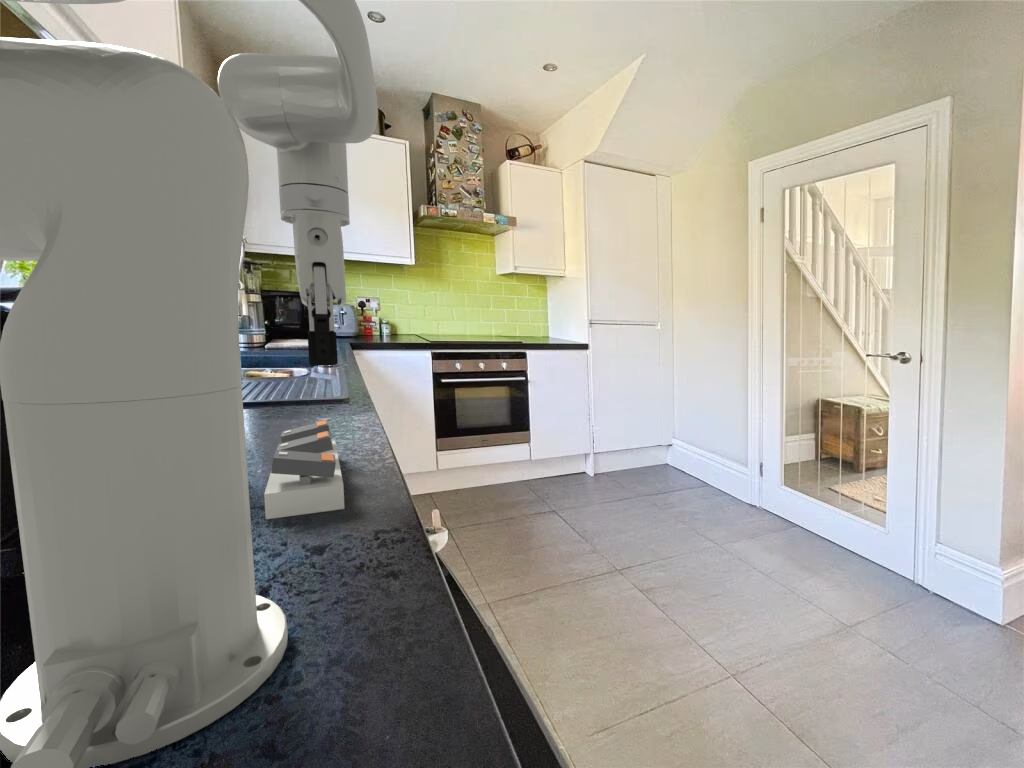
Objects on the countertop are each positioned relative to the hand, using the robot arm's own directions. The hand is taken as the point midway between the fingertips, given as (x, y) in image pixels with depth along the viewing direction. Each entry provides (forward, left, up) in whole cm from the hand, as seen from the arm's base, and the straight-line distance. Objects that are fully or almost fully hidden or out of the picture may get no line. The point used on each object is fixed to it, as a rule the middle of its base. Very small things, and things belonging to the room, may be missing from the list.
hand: (323, 364), depth 59 cm
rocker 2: (0, +3, -10) cm, 10 cm away
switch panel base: (0, +3, -14) cm, 15 cm away
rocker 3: (-8, +3, -10) cm, 13 cm away
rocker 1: (+8, +3, -10) cm, 13 cm away
